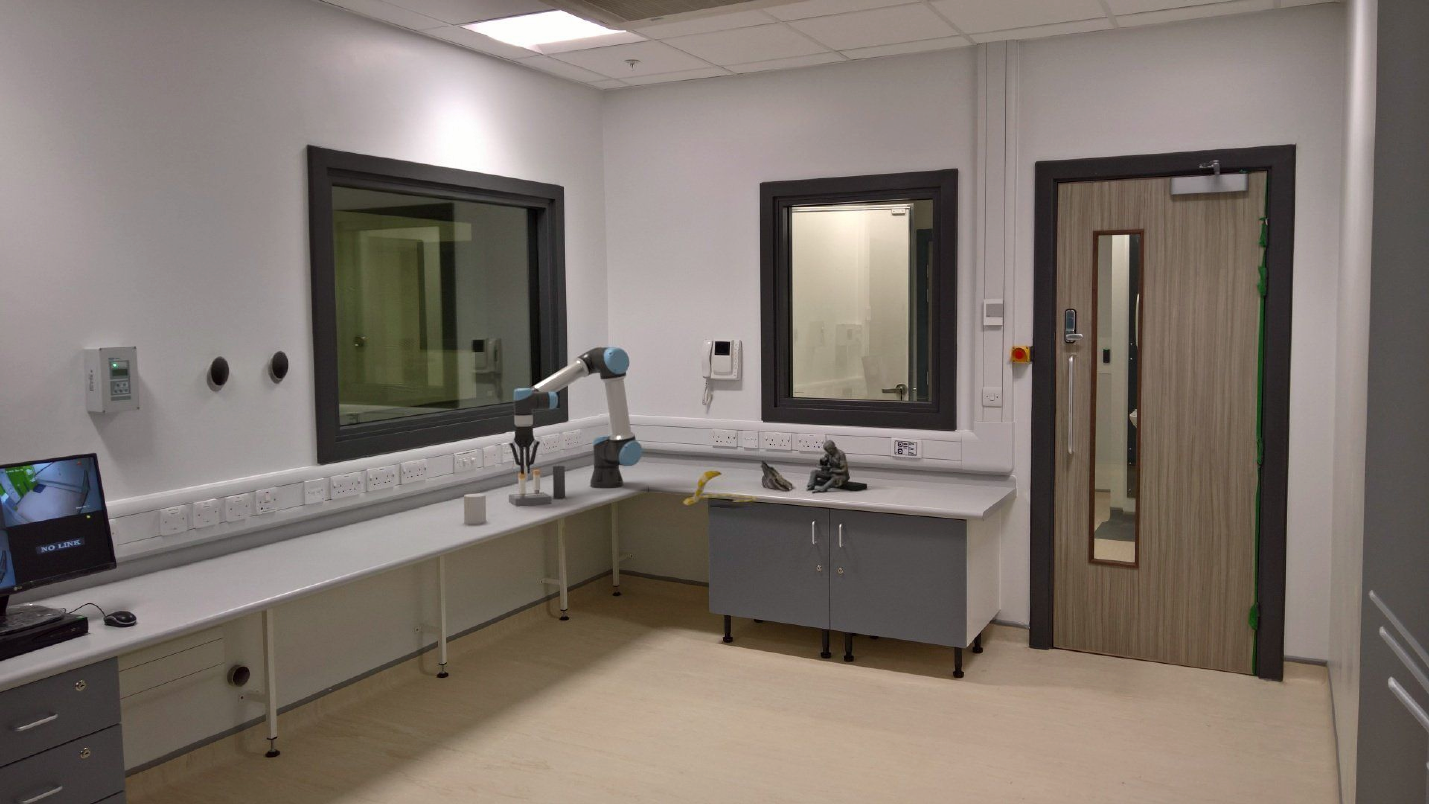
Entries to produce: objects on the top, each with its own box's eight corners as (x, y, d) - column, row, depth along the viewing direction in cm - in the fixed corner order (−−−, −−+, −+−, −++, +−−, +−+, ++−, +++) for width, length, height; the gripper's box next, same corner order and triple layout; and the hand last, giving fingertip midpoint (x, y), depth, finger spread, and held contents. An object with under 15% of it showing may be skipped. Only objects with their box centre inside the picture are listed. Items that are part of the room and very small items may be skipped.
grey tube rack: (543, 499, 433) (543, 491, 433) (551, 503, 421) (551, 495, 421) (509, 501, 427) (508, 493, 427) (515, 506, 415) (515, 498, 415)
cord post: (563, 497, 438) (562, 465, 437) (566, 499, 433) (565, 466, 432) (552, 498, 436) (551, 466, 435) (555, 499, 431) (554, 467, 430)
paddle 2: (538, 491, 432) (537, 469, 431) (540, 493, 428) (540, 471, 427) (533, 492, 431) (532, 470, 430) (535, 493, 427) (535, 471, 426)
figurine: (788, 493, 444) (787, 440, 443) (824, 488, 460) (824, 436, 459) (830, 499, 425) (830, 443, 424) (867, 493, 442) (867, 439, 440)
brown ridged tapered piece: (751, 455, 443) (764, 460, 470) (738, 471, 444) (753, 476, 470) (790, 484, 437) (802, 489, 463) (778, 501, 437) (790, 505, 464)
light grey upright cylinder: (466, 524, 391) (465, 493, 390) (487, 524, 391) (487, 493, 391) (462, 528, 383) (462, 497, 382) (484, 527, 383) (484, 496, 382)
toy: (734, 511, 400) (734, 473, 399) (673, 507, 412) (673, 470, 411) (762, 500, 427) (762, 465, 426) (703, 496, 438) (703, 462, 437)
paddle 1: (523, 495, 421) (522, 473, 421) (526, 497, 417) (525, 474, 417) (518, 496, 421) (517, 473, 420) (521, 497, 417) (520, 474, 416)
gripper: (536, 423, 424) (538, 479, 425) (506, 425, 418) (508, 481, 420) (541, 425, 417) (542, 481, 418) (510, 426, 412) (512, 483, 413)
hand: (525, 481), depth 419 cm, fingers closed
